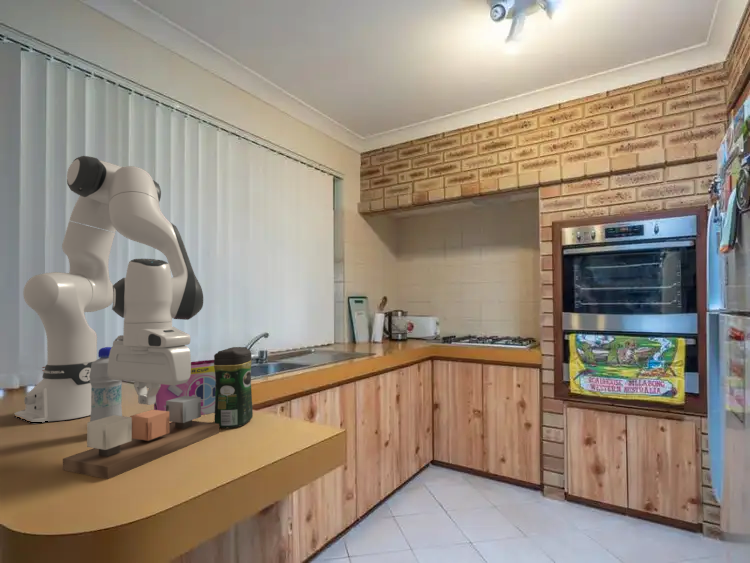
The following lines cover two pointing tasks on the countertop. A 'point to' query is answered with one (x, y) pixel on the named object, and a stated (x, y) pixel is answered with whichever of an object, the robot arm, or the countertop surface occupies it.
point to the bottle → (104, 389)
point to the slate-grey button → (184, 409)
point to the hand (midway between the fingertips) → (146, 403)
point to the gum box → (192, 387)
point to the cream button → (109, 432)
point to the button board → (138, 450)
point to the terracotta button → (150, 424)
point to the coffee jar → (233, 387)
